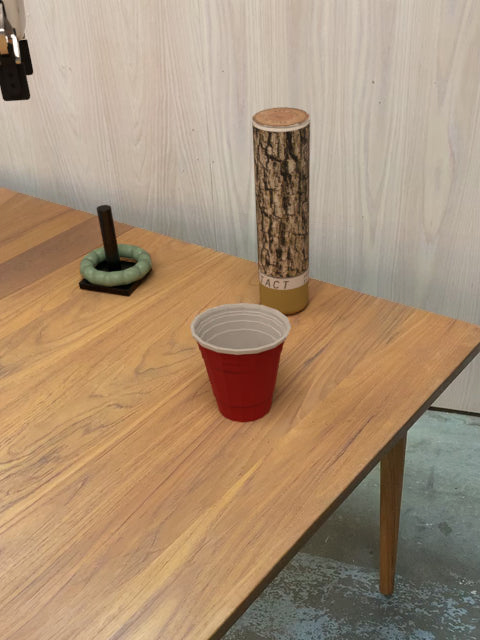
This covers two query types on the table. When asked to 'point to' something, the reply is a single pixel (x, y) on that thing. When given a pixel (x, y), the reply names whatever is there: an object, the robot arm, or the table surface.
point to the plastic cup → (241, 356)
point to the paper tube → (282, 206)
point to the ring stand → (111, 257)
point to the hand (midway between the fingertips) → (19, 86)
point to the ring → (116, 276)
